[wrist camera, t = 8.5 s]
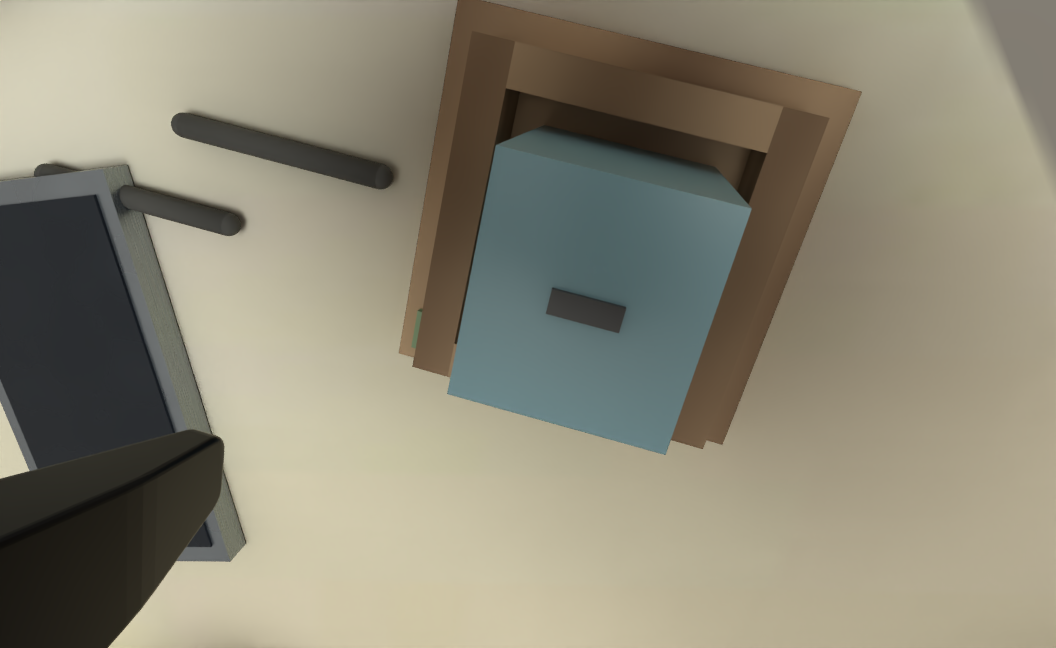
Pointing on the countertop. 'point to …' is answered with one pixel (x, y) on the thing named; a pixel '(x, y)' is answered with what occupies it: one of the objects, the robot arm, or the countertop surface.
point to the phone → (93, 333)
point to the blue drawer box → (595, 284)
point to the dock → (639, 121)
